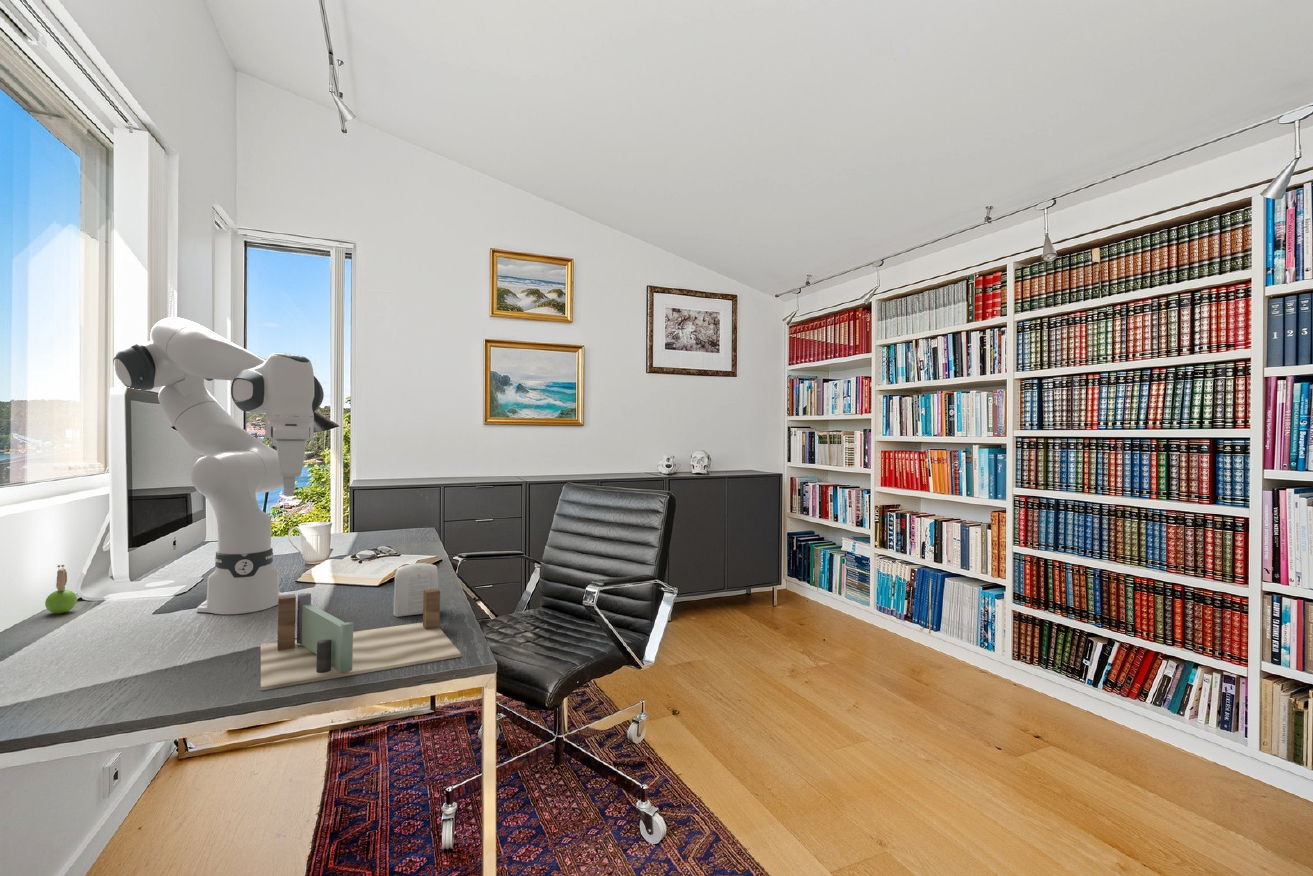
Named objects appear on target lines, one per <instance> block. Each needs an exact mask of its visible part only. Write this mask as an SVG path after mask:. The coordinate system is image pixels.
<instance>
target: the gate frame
mask: <svg viewBox="0 0 1313 876" xmlns="http://www.w3.org/2000/svg"><path fill="white" fill-rule="evenodd" d="M296 601H297V596H296V593H291V594H283V595H280V596H278V605H277V637H276V638H277V640H276V641H277V642H271V643H270V642H269V643H262V644H260V691H266V690H272V689H280V688H284V687H285V688H286V687H290V686H296V685H301V684H308V683H313V682H320V681H325V680H331V679H337V678H343V677H349V676H355V675H362V674H368V673H371V672H372V673H373V672H378V671H385V670H391V669H396V668H403V667H408V666H414V665H419V664H420V665H421V664H427V663H431V662H438V661H444V660H449V659H454V658H455V659H456V658H460V657H462V653H461V651H459V649H458V648H457V647H456V646H455V644H453V642H452V641H451V639H450V638H449V637H448V636H447V635H446V634H445V633H444V631H443V630H442V629H441V628H440V616H441V615H440V613H441V612H440V610H441V609H440V608H441V590H440V589H439V587H438V588H432V589H424V591H423V614H422V622H416V623H409V624H402V625H395V626H387V627H386V626H385V627H379V628H373V629H372V628H371V629H363V630H359V631H357V630H356V631H353V662H352V670H351V671H349V672H341V671H340V670H339V669H338V668H336V667H335V666H333V665H332V664H331V643H332V641H331V640H320V641H318V642H317V654H315V653H314V652H312V651H311V650H309V649H308V648H306V647H305V646H303V645H302V644H298V643H297V639H296V618H297V617H296V615H297V614H296V611H297V610H296V608H297V607H296V606H297V602H296Z"/></svg>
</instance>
